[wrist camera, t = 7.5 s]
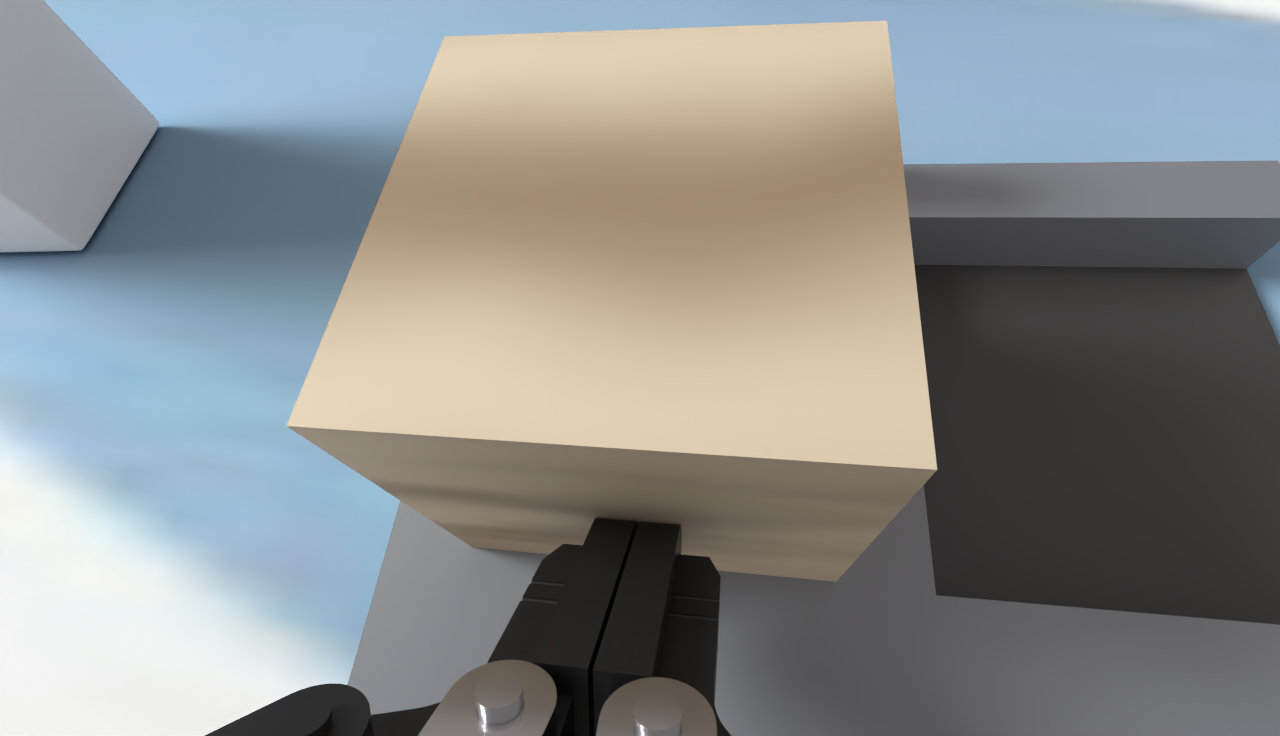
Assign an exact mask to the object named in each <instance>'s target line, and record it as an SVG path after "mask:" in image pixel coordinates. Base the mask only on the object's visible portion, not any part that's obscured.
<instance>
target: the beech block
mask: <svg viewBox="0 0 1280 736" xmlns="http://www.w3.org/2000/svg"><path fill="white" fill-rule="evenodd" d="M287 427H289V428H290V429H292V430H293V431H295V432H296V433H298V434H300V435H301V436H303V437H304V438H306V439H307V440H309V441H310V442H312V443H313V444H315V445H316V446H318V447H319V448H321V449H322V450H324V451H326V452H327V453H329V454H330V455H332V456H333V457H335V458H336V459H338V460H339V461H341V462H342V463H344V464H345V465H347V466H349V467H350V468H352V469H353V470H355V471H356V472H358V473H359V474H361V475H362V476H364V477H365V478H367V479H368V480H370V481H372V482H373V483H375V484H376V485H378V486H379V487H381V488H382V489H384V490H385V491H387V492H388V493H390V494H391V495H393V496H395V497H396V498H398V499H399V500H401V501H402V502H404V503H405V504H407V505H408V506H410V507H411V508H413V509H414V510H416V511H418V512H419V513H421V514H422V515H424V516H425V517H427V518H428V519H430V520H431V521H433V522H434V523H436V524H437V525H439V526H440V527H442V528H444V529H445V530H447V531H448V532H450V533H451V534H453V535H454V536H456V537H457V538H459V539H460V540H462V541H463V542H465V543H467V544H468V545H470V546H471V547H475V548H486V549H496V550H507V551H517V552H528V553H538V554H550V553H552V552H553V551H554V550H556V549H557V548H558V547H559V546H561V545H562V544H572V545H583V544H584V541H585V539H586V537H587V535H588V532H589V530H590V528H591V526H592V524H593V521H594V519H595V518H606V519H618V520H630V521H636V522H637V524H638V523H639V522H640V521H641V522H653V523H665V524H677V525H681V529H682V547H681V554H682V555H693V556H704V557H710V559H711V561H712V562H713V564H714V566H715V568H716V569H717V571H727V572H738V573H748V574H759V575H769V576H780V577H791V578H801V579H812V580H822V581H833V582H836V581H837V580H838V579H839V578H840V577H841V576H842V575H843V573H844V572H845V571H846V570H847V569H848V568H849V567H850V566H851V565H852V564H853V562H854V561H855V560H856V559H857V558H858V557H859V556H860V555H861V554H862V552H863V551H864V550H865V549H866V548H867V547H868V546H869V545H870V544H871V543H872V541H873V540H874V539H875V538H876V537H877V536H878V535H879V534H880V533H881V531H882V530H883V529H884V528H885V527H886V526H887V525H888V524H889V523H890V522H891V520H892V519H893V518H894V517H895V516H896V515H897V514H898V513H899V512H900V510H901V509H902V508H903V507H904V506H905V505H906V504H907V503H908V502H909V501H910V499H911V498H912V497H913V496H914V495H915V494H916V493H917V492H918V491H919V489H920V488H921V487H922V486H923V485H924V484H925V483H926V482H927V481H928V480H929V478H930V477H931V476H932V475H933V474H934V473H935V472H936V471H937V463H936V454H935V445H934V436H933V427H932V418H931V409H930V400H929V391H928V382H927V373H926V365H925V356H924V347H923V338H922V329H921V320H920V311H919V302H918V293H917V284H916V275H915V266H914V257H913V248H912V239H911V230H910V222H909V213H908V204H907V195H906V186H905V177H904V168H903V159H902V150H901V141H900V132H899V123H898V114H897V105H896V96H895V87H894V79H893V70H892V61H891V52H890V43H889V34H888V25H887V21H865V22H837V23H810V24H782V25H754V26H726V27H698V28H671V29H643V30H615V31H587V32H559V33H531V34H504V35H476V36H448V37H444V39H443V42H442V44H441V47H440V49H439V52H438V54H437V57H436V59H435V62H434V64H433V66H432V69H431V71H430V74H429V76H428V79H427V81H426V84H425V86H424V89H423V91H422V94H421V96H420V98H419V101H418V103H417V106H416V108H415V111H414V113H413V116H412V118H411V121H410V123H409V126H408V128H407V131H406V133H405V135H404V138H403V140H402V143H401V145H400V148H399V150H398V153H397V155H396V158H395V160H394V163H393V165H392V167H391V170H390V172H389V175H388V177H387V180H386V182H385V185H384V187H383V190H382V192H381V195H380V197H379V200H378V202H377V204H376V207H375V209H374V212H373V214H372V217H371V219H370V222H369V224H368V227H367V229H366V232H365V234H364V236H363V239H362V241H361V244H360V246H359V249H358V251H357V254H356V256H355V259H354V261H353V264H352V266H351V269H350V271H349V273H348V276H347V278H346V281H345V283H344V286H343V288H342V291H341V293H340V296H339V298H338V301H337V303H336V306H335V308H334V310H333V313H332V315H331V318H330V320H329V323H328V325H327V328H326V330H325V333H324V335H323V338H322V340H321V342H320V345H319V347H318V350H317V352H316V355H315V357H314V360H313V362H312V365H311V367H310V370H309V372H308V375H307V377H306V379H305V382H304V384H303V387H302V389H301V392H300V394H299V397H298V399H297V402H296V404H295V407H294V409H293V411H292V414H291V416H290V419H289V421H288V424H287Z"/></svg>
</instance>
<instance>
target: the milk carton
mask: <svg viewBox="0 0 1280 736" xmlns="http://www.w3.org/2000/svg"><path fill="white" fill-rule="evenodd" d="M158 126H159V122H158V120H157V119H156V118H155V117H154V116H153V115H152V114H151V113H150V112H149V111H148V109H147V108H146V107H145V106H144V105H143V104H142V103H141V102H140V101H139V100H138V99H137V98H136V97H135V96H134V95H133V94H132V93H131V92H130V91H129V90H128V89H127V87H126V86H125V85H124V84H123V83H122V82H121V81H120V80H119V79H118V78H117V77H116V76H115V75H114V74H113V73H112V72H111V71H110V70H109V69H108V68H107V67H106V66H105V64H104V63H103V62H102V61H101V60H100V59H99V58H98V57H97V56H96V55H95V54H94V53H93V52H92V51H91V50H90V49H89V48H88V47H87V46H86V45H85V44H84V42H83V41H82V40H81V39H80V38H79V37H78V36H77V35H76V34H75V33H74V32H73V31H72V30H71V29H70V28H69V27H68V26H67V25H66V24H65V23H64V22H63V20H62V19H61V18H60V17H59V16H58V15H57V14H56V13H55V12H54V11H53V10H52V9H51V8H50V7H49V6H48V5H47V4H46V3H45V2H44V1H43V0H0V252H43V251H79V250H82V249H83V248H84V247H85V245H86V244H87V243H88V241H89V239H90V238H91V236H92V235H93V233H94V231H95V230H96V228H97V227H98V225H99V223H100V222H101V220H102V218H103V217H104V215H105V214H106V212H107V210H108V209H109V207H110V205H111V204H112V202H113V200H114V199H115V197H116V196H117V194H118V192H119V191H120V189H121V187H122V186H123V184H124V182H125V181H126V179H127V178H128V176H129V174H130V173H131V171H132V169H133V168H134V166H135V165H136V163H137V161H138V160H139V158H140V156H141V155H142V153H143V151H144V150H145V148H146V147H147V145H148V143H149V142H150V140H151V138H152V137H153V135H154V133H155V132H156V130H157V128H158Z"/></svg>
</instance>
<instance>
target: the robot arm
mask: <svg viewBox="0 0 1280 736" xmlns="http://www.w3.org/2000/svg"><path fill="white" fill-rule="evenodd" d="M681 547H682V529H681V525H677V524H665V523H653V522H641V521H640V522H639V523H638V524H637V522H636V521H630V520H618V519H606V518H595V519H594V521H593V524H592V526H591V528H590V530H589V532H588V535H587V537H586V539H585V541H584V544H583V545H572V544H562V545H561V546H559V547H558V548H557V549H556V550H554V551H553V552H552V553H550V554H549V555H548V556H546V557H545V558H544V559H543V560H542V561H541V563H540V565H539V567H538V569H537V571H536V572H535V574H534V576H533V578H532V582H531V584H529V586H528V587H527V589H526V591H525V593H524V595H523V599H522V601H520V602H519V604H518V606H517V608H516V610H515V612H514V613H513V615H512V617H511V619H510V621H509V623H508V625H507V627H506V628H505V630H504V632H503V634H502V636H501V638H500V640H499V641H498V643H497V645H496V647H495V649H494V651H493V653H492V654H491V656H490V658H489V660H488V662H487V664H484V665H482V666H479V667H477V668H475V669H473V670H471V671H469V672H468V673H466V674H465V675H464V676H462V677H461V678H460V679H459V680H458V681H457V682H455V683H454V685H453V686H452V687H451V688H450V690H449V691H448V692H447V694H446V695H445V697H444V698H443V700H442V701H441V702H439V703H436V704H432V705H429V706H425V707H420V708H415V709H408V710H401V711H394V712H388V713H381V714H374V715H371V712H370V705H369V702H368V700H367V698H366V696H365V695H364V694H363V693H362V692H361V691H359V690H358V689H356V688H354V687H351V686H349V685H343V684H323V685H317V686H312V687H308V688H305V689H302V690H299V691H297V692H295V693H292V694H290V695H288V696H286V697H284V698H281V699H279V700H277V701H275V702H273V703H271V704H269V705H267V706H265V707H263V708H261V709H259V710H257V711H255V712H253V713H251V714H248V715H246V716H244V717H242V718H240V719H238V720H236V721H234V722H232V723H230V724H228V725H226V726H224V727H222V728H220V729H218V730H216V731H213V732H211V733H209V734H207V735H205V736H731V734H730V733H729V732H728V731H727V730H726V729H725V727H724V726H723V724H722V722H721V721H720V719H719V717H718V714H717V712H716V709H715V688H716V670H717V653H718V629H719V606H720V582H721V576H720V575H719V573H718V571H717V569H716V568H715V566H714V564H713V562H712V561H711V559H710V557H704V556H693V555H682V554H681Z"/></svg>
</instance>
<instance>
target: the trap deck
mask: <svg viewBox="0 0 1280 736" xmlns="http://www.w3.org/2000/svg"><path fill="white" fill-rule="evenodd" d="M903 168H904V177H905V186H906V195H907V204H908V213H909V222H910V230H911V239H912V248H913V257H914V266H915V275H916V284H917V293H918V302H919V311H920V320H921V329H922V338H923V347H924V356H925V365H926V373H927V382H928V391H929V400H930V409H931V418H932V427H933V436H934V445H935V454H936V463H937V471H936V472H935V473H934V474H933V475H932V476H931V477H930V478H929V480H928V481H927V482H926V483H925V484H924V485H923V486H922V487H921V488H920V489H919V491H918V492H917V493H916V494H915V495H914V496H913V497H912V498H911V499H910V501H909V502H908V503H907V504H906V505H905V506H904V507H903V508H902V509H901V510H900V512H899V513H898V514H897V515H896V516H895V517H894V518H893V519H892V520H891V522H890V523H889V524H888V525H887V526H886V527H885V528H884V529H883V530H882V531H881V533H880V534H879V535H878V536H877V537H876V538H875V539H874V540H873V541H872V543H871V544H870V545H869V546H868V547H867V548H866V549H865V550H864V551H863V552H862V554H861V555H860V556H859V557H858V558H857V559H856V560H855V561H854V562H853V564H852V565H851V566H850V567H849V568H848V569H847V570H846V571H845V572H844V573H843V575H842V576H841V577H840V578H839V579H838V580H837V581H836V582H833V581H822V580H812V579H801V578H791V577H780V576H769V575H759V574H748V573H738V572H727V571H718V573H719V575H720V576H721V582H720V606H719V629H718V653H717V670H716V688H715V709H716V712H717V714H718V717H719V719H720V721H721V722H722V724H723V726H724V727H725V729H726V730H727V731H728V732H729V733H730V734H731V736H1280V346H1279V343H1278V341H1277V339H1276V336H1275V334H1274V332H1273V329H1272V327H1271V325H1270V322H1269V320H1268V318H1267V315H1266V313H1265V311H1264V309H1263V306H1262V304H1261V302H1260V299H1259V297H1258V295H1257V292H1256V290H1255V288H1254V285H1253V283H1252V281H1251V278H1250V276H1249V274H1248V271H1247V268H1248V267H1249V266H1250V265H1251V264H1252V263H1254V262H1255V261H1256V260H1257V259H1258V258H1260V257H1261V256H1262V255H1263V254H1264V253H1266V252H1267V251H1268V250H1269V249H1270V248H1272V247H1273V246H1274V245H1275V244H1276V243H1278V242H1279V241H1280V164H1279V162H1278V161H1202V162H1103V163H1005V164H906V165H903ZM548 555H549V554H538V553H528V552H517V551H507V550H496V549H486V548H475V547H471V546H470V545H468V544H467V543H465V542H463V541H462V540H460V539H459V538H457V537H456V536H454V535H453V534H451V533H450V532H448V531H447V530H445V529H444V528H442V527H440V526H439V525H437V524H436V523H434V522H433V521H431V520H430V519H428V518H427V517H425V516H424V515H422V514H421V513H419V512H418V511H416V510H414V509H413V508H411V507H410V506H408V505H407V504H405V503H404V502H402V501H401V500H400V504H399V507H398V511H397V514H396V518H395V521H394V525H393V528H392V532H391V535H390V539H389V542H388V546H387V549H386V553H385V556H384V560H383V563H382V567H381V570H380V574H379V577H378V581H377V584H376V588H375V591H374V595H373V598H372V602H371V605H370V609H369V612H368V616H367V619H366V623H365V626H364V630H363V633H362V636H361V640H360V643H359V647H358V650H357V654H356V657H355V661H354V664H353V668H352V671H351V675H350V678H349V682H348V685H349V686H351V687H354V688H356V689H358V690H359V691H361V692H362V693H363V694H364V695H365V696H366V698H367V700H368V702H369V705H370V712H371V715H374V714H381V713H388V712H394V711H401V710H408V709H415V708H420V707H425V706H429V705H432V704H436V703H439V702H441V701H442V700H443V698H444V697H445V695H446V694H447V692H448V691H449V690H450V688H451V687H452V686H453V685H454V683H455V682H457V681H458V680H459V679H460V678H461V677H462V676H464V675H465V674H466V673H468V672H469V671H471V670H473V669H475V668H477V667H479V666H482V665H484V664H487V662H488V660H489V658H490V656H491V654H492V653H493V651H494V649H495V647H496V645H497V643H498V641H499V640H500V638H501V636H502V634H503V632H504V630H505V628H506V627H507V625H508V623H509V621H510V619H511V617H512V615H513V613H514V612H515V610H516V608H517V606H518V604H519V602H520V601H522V599H523V595H524V593H525V591H526V589H527V587H528V586H529V584H531V582H532V578H533V576H534V574H535V572H536V571H537V569H538V567H539V565H540V563H541V561H542V560H543V559H544V558H545V557H546V556H548Z"/></svg>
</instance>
